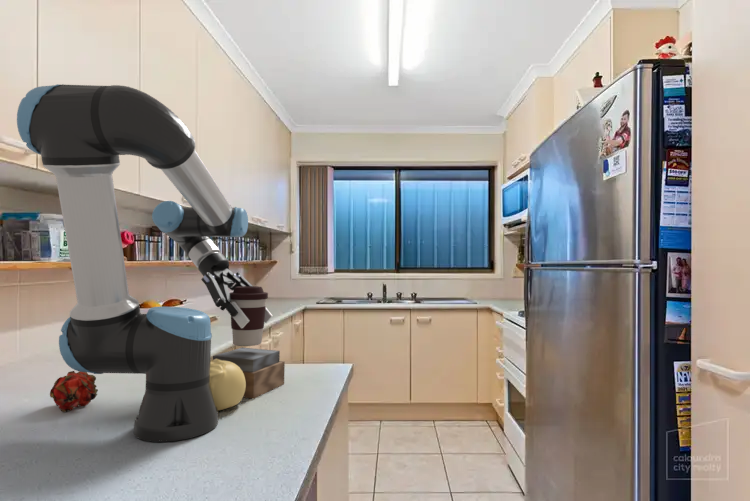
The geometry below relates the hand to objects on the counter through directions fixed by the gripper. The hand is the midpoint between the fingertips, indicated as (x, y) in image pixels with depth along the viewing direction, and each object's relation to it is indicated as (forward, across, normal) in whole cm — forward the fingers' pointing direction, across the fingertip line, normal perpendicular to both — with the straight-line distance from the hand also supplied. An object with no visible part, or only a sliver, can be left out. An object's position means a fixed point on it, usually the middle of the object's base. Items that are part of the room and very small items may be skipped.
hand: (257, 321), depth 114 cm
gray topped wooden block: (+10, 0, -14) cm, 18 cm away
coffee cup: (+2, 0, -6) cm, 7 cm away
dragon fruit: (-8, +27, -33) cm, 43 cm away
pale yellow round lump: (+12, +15, -12) cm, 23 cm away
